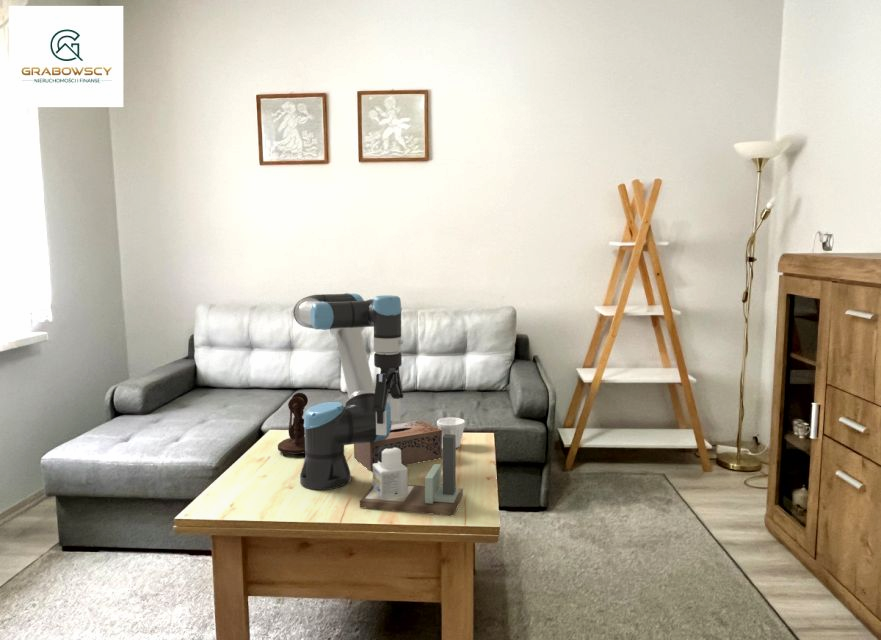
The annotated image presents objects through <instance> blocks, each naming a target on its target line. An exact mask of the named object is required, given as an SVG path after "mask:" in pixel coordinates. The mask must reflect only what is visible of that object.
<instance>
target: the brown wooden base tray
mask: <svg viewBox="0 0 881 640" xmlns="http://www.w3.org/2000/svg"><path fill="white" fill-rule="evenodd" d="M458 488H459V493H458V495H457V497H456V499H455V501H454V503H447V502H435V501H434V502H433V503H432V504H431V503H425V485H420V484H408V494H406V495H401V496H395V497H390V498H384V499H382V498H381V497H380V496H379V495H378V494H377V493H376V492H375V491H374V490H373V485H371V487H370V488H369V489H368V490H367V491H366V493H365V494H363V496H362V497H361V498H360V499H359V508H360V507H366V508H365V509H370V508H375V509H374V510H382V509H384V510H385V511H393V510H394V511H393V512H395V511H396V512H405V513H406V512H407V513H417V514H428V513H433V514H432V515H440V514H444V515H443V516H451V515H453V516H454V515H455V513H456V510H457V509H458V507H457V506H459V505H458V504H460V502H461V500H462V498H463V497H464V496H463V495H464V493H463V491H464V489H463V488H461V487H458ZM456 508H457V509H456ZM384 510H383V511H384Z"/></svg>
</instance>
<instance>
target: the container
mask: <svg viewBox="0 0 881 640" xmlns="http://www.w3.org/2000/svg"><path fill="white" fill-rule="evenodd" d="M408 483H409V481H408V467H407V466H406V465H405V466H404V465H403V464H402V463H401V448H400V447H398V446H395V445H386V446H383V447H380V448H379V449H378V463H374V464H373V472H372V486H373V490H374V491H375V492H376V493H377V494H378V495H379V496H380V497H381V498H382V499H384V498H390V497H395V496H401V495H406V494H408Z"/></svg>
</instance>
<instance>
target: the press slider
mask: <svg viewBox="0 0 881 640" xmlns="http://www.w3.org/2000/svg"><path fill="white" fill-rule="evenodd" d="M456 449H457V448H456V435H451V434H445V435H444V436H443V446H442V464H437V463H434V464H433V465H432V467H431V468H430V470H428V473H427V474H426V476H425V477H424V486H425V503H431V504H432V503H433V502H434V501H435V502H447V503H454V501H455V499H456V497H457V495H458V493H459V488H460V487H456V485H457V483H456V480H457V478H456V477H457V475H456V463H457V461H456V459H457V458H456Z"/></svg>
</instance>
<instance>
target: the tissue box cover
mask: <svg viewBox="0 0 881 640" xmlns="http://www.w3.org/2000/svg"><path fill="white" fill-rule="evenodd" d="M386 445H395V446H398V447H400V448H401V463H402V464H403V465H405V466H410V465H414V463H415V464H419V463H418V462H420V463H424V462H423V461H426V462H429V461H428V460H431V461H435V460H434V459H436V460H440V459H439V458H442V459H443V446H442V430H440V429H438V427H436V426H434V425H432V424H431V423H429V422H426V421H425V420H424V419H420V420H414V421H413V420H412V421H407V422H402V423H393V424H391V431H390V434H389V436H388V437H387V438H386V439H384V440H379V441H376V442H366V443H358V444H353V458H355V459H356V460H357V462H358V463H359V462H360V463H361V464H362V465H361V464H360V463H359V464H360V465H361V466H363V468H365V467H366V468H367V469H366V468H365V469H366V470H368V471H369V472H370V471H373V464H374V463H378V449H379V448H380V447H383V446H386ZM355 459H354V460H355ZM356 460H355V461H356ZM409 464H410V465H409Z"/></svg>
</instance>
